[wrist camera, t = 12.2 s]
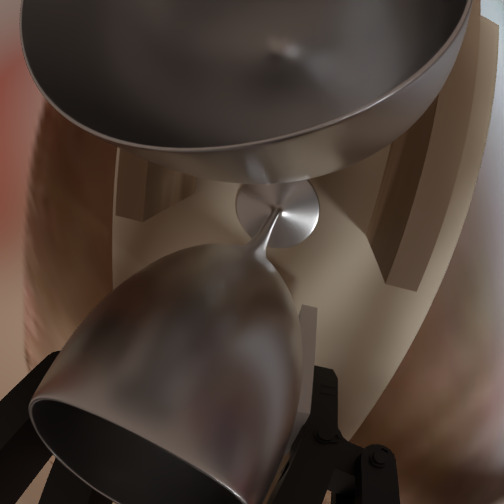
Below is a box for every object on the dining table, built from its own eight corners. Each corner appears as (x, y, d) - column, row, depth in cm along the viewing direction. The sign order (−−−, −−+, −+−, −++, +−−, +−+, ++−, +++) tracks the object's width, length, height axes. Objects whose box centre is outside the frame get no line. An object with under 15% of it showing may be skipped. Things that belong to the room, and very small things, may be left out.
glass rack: (493, 27, 9) (550, 0, 4) (315, 478, 23) (308, 528, 18) (162, -38, 11) (108, -79, 6) (131, 425, 25) (105, 467, 20)
